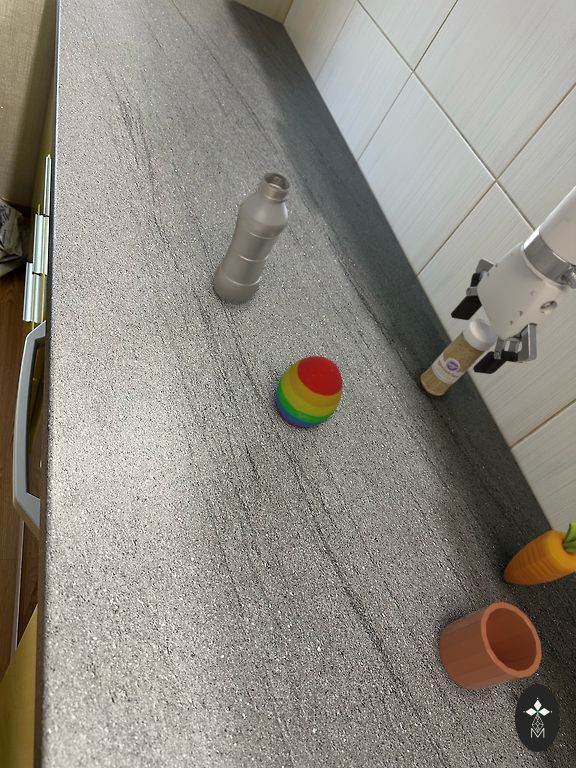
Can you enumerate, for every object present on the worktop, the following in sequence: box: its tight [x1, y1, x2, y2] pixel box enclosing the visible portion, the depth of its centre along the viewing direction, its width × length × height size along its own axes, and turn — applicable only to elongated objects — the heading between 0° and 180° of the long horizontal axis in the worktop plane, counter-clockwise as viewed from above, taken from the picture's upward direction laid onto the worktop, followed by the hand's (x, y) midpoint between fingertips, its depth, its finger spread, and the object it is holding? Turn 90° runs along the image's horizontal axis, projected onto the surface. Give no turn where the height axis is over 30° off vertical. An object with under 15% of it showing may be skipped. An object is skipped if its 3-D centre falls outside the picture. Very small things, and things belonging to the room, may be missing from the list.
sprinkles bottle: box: [420, 318, 498, 397], centre depth 84 cm, size 5×5×14 cm
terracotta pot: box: [438, 601, 543, 691], centre depth 62 cm, size 7×7×8 cm
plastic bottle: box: [212, 171, 292, 304], centre depth 78 cm, size 6×7×20 cm
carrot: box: [502, 520, 576, 586], centre depth 67 cm, size 5×5×15 cm
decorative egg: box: [275, 355, 344, 428], centre depth 73 cm, size 8×8×10 cm
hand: (470, 343), depth 81 cm, fingers open, 9 cm apart
